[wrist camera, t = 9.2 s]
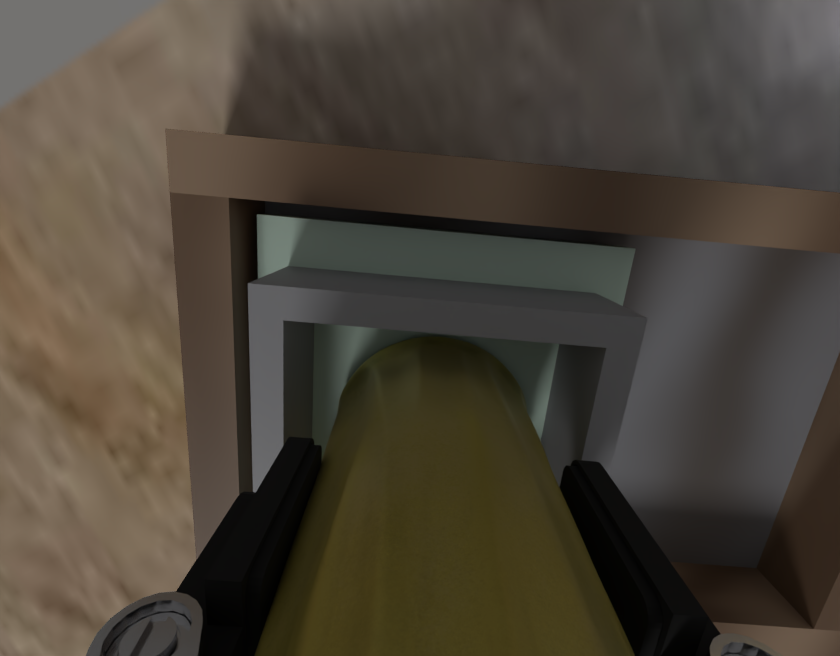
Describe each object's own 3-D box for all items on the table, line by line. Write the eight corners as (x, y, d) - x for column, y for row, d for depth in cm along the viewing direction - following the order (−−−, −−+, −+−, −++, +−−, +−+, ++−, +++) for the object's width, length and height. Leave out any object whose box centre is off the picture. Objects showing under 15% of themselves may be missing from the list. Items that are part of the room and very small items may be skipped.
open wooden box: (926, 212, 14) (1060, 213, 11) (772, 590, 18) (839, 663, 15) (221, 146, 13) (165, 128, 10) (237, 551, 17) (200, 619, 15)
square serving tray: (616, 245, 13) (702, 261, 9) (551, 550, 17) (593, 660, 13) (271, 214, 13) (204, 215, 9) (274, 529, 16) (225, 635, 12)
